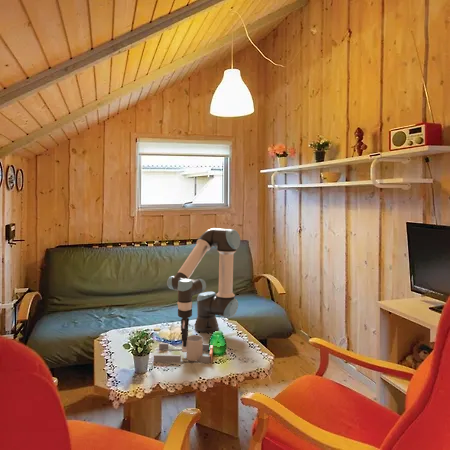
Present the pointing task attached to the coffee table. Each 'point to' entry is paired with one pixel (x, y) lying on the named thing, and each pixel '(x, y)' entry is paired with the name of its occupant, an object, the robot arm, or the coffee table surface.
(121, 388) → the coffee table surface
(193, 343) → the mug
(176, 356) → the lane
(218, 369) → the coffee table surface
